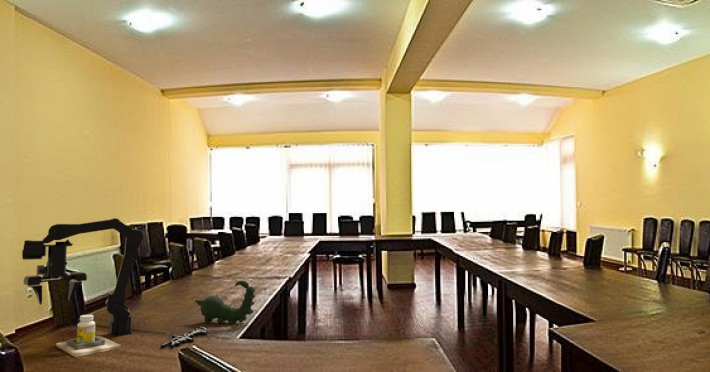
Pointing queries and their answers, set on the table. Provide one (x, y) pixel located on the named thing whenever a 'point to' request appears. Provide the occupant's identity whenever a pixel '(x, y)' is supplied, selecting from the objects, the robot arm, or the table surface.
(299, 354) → the table surface
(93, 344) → the collar board
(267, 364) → the table surface
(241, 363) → the table surface
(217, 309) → the toy figurine
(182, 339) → the toy rifle
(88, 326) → the supplement bottle
